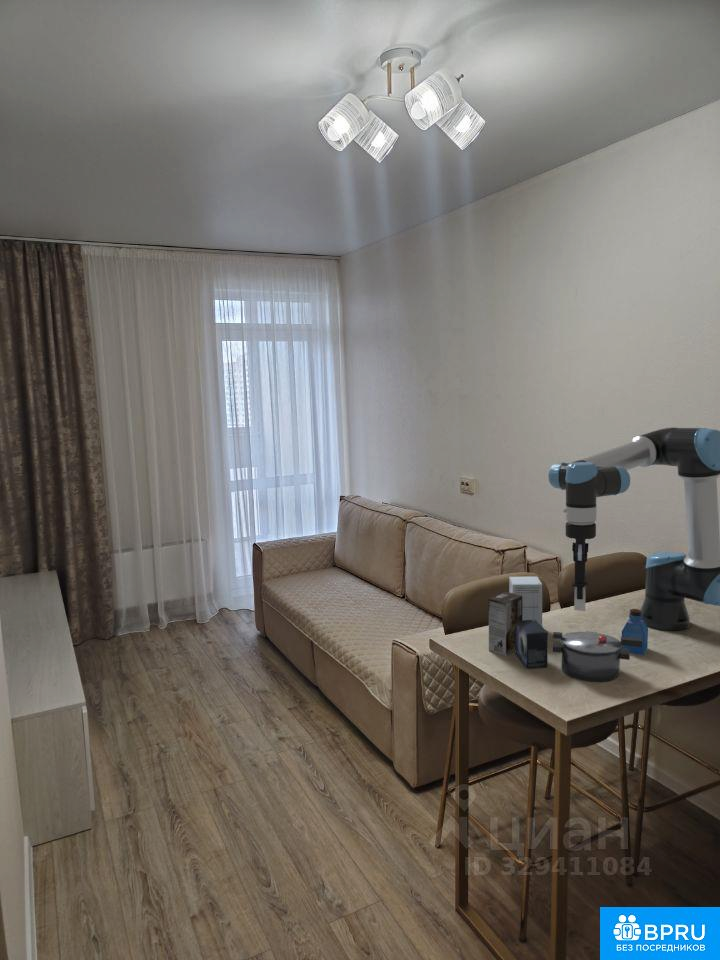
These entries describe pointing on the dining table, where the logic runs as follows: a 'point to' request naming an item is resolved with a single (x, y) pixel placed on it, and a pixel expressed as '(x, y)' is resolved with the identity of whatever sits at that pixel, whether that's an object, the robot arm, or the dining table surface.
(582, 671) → the pot
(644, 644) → the perfume bottle
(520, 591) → the supplement box
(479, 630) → the dining table surface
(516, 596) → the coffee box
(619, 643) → the lid
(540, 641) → the small box
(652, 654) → the dining table surface
